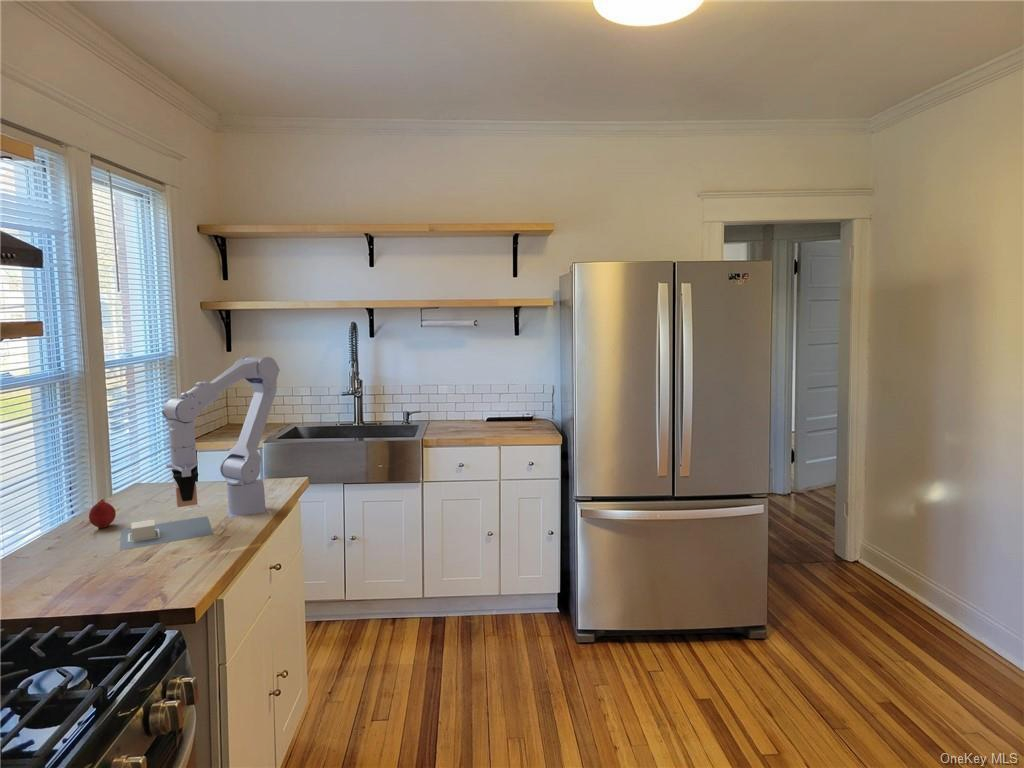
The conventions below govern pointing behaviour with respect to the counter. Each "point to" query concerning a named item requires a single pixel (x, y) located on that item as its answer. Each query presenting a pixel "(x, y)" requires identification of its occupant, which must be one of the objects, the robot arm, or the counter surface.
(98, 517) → the onion
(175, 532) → the board
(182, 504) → the terracotta block
